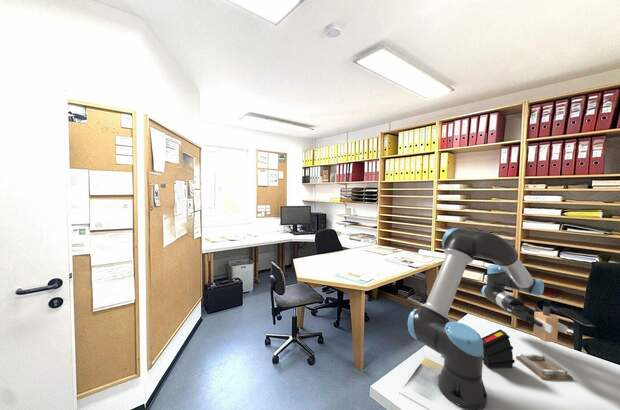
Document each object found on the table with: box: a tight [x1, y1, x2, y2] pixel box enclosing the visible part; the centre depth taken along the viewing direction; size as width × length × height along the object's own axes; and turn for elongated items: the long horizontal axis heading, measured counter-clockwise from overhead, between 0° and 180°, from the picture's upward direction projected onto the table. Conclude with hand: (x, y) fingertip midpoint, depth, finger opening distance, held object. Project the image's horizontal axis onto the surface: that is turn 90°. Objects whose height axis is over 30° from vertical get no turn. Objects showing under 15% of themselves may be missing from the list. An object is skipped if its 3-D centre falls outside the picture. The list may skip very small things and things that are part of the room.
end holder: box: [515, 354, 574, 381], centre depth 100 cm, size 12×12×2 cm
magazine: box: [481, 328, 516, 369], centre depth 101 cm, size 4×13×15 cm, turn 92°
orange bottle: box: [532, 306, 559, 343], centre depth 99 cm, size 5×5×13 cm
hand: (558, 329), depth 94 cm, fingers closed on orange bottle, 5 cm apart
